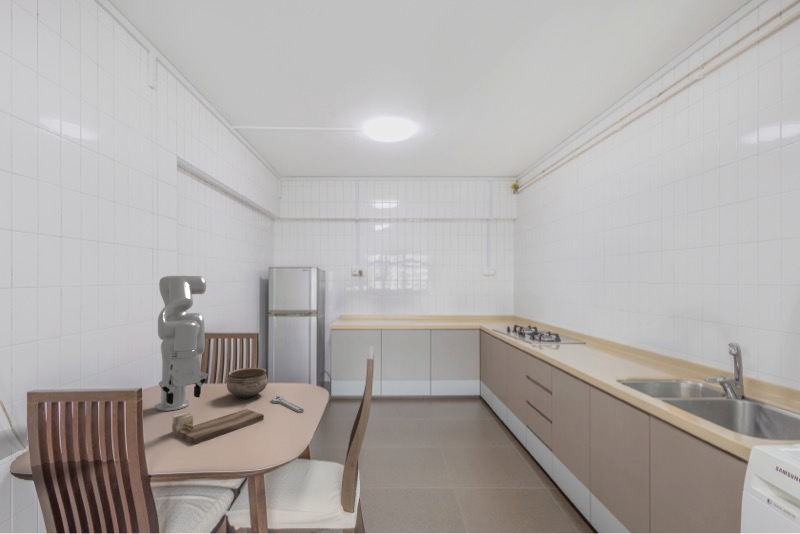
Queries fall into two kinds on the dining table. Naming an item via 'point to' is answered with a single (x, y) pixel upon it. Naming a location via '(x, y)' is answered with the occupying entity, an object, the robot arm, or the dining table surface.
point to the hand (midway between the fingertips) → (183, 400)
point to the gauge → (182, 422)
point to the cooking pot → (247, 382)
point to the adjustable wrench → (287, 404)
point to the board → (219, 426)
